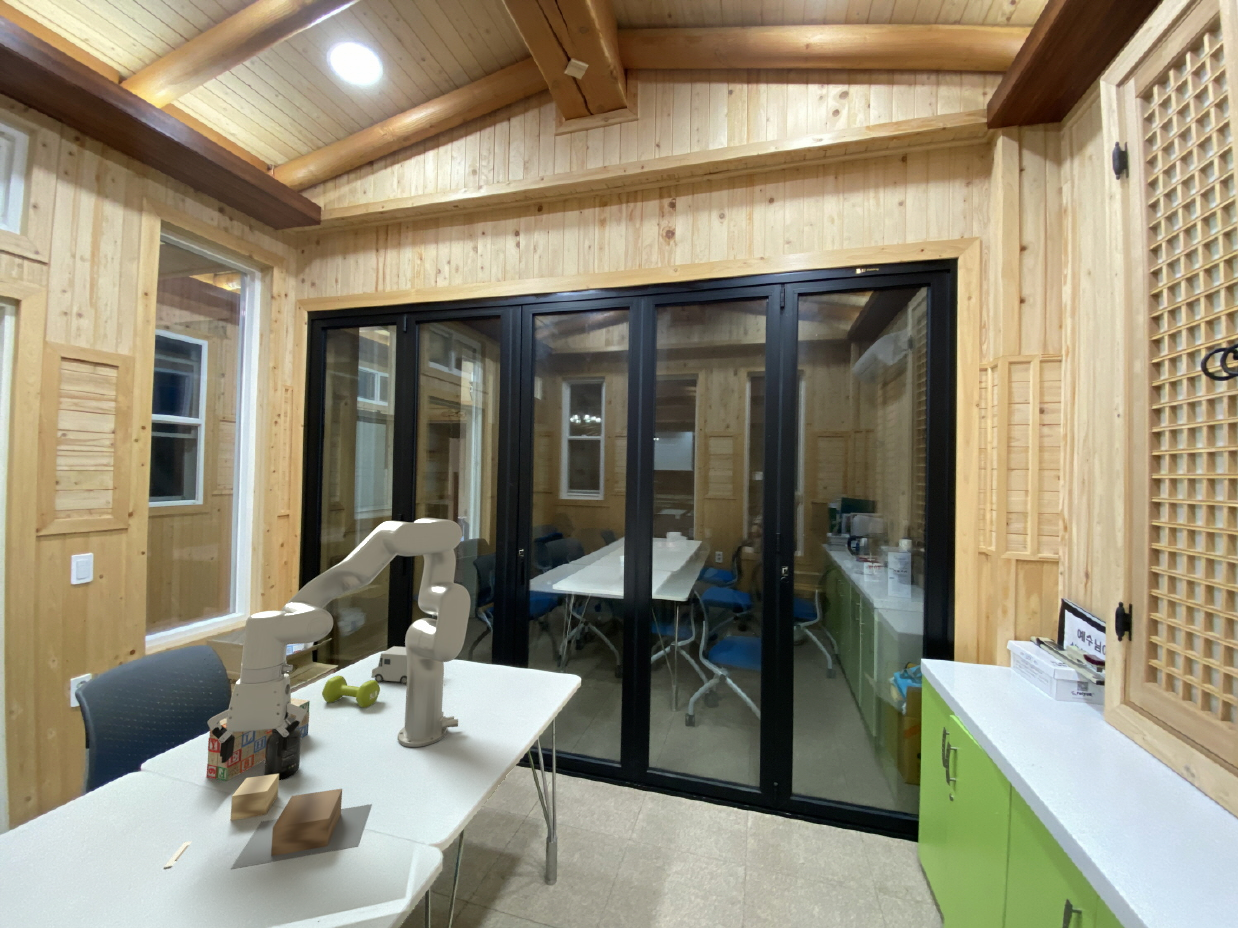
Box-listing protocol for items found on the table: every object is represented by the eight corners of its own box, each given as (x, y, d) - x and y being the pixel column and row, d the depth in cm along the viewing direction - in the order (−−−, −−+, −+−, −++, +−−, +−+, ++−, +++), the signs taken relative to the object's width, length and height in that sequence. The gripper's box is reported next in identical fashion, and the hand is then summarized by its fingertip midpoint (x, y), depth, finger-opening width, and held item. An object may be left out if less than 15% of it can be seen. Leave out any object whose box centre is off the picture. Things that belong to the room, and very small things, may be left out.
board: (371, 809, 98) (371, 803, 98) (357, 852, 87) (358, 846, 87) (260, 827, 92) (261, 821, 92) (230, 876, 81) (230, 868, 81)
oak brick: (277, 802, 100) (279, 773, 100) (265, 821, 94) (267, 790, 94) (244, 806, 98) (246, 777, 98) (229, 826, 92) (232, 795, 93)
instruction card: (234, 835, 90) (234, 833, 90) (217, 858, 84) (217, 857, 84) (184, 843, 88) (184, 841, 88) (163, 868, 82) (163, 866, 82)
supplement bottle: (302, 762, 114) (305, 712, 115) (294, 779, 108) (297, 726, 108) (269, 768, 111) (272, 717, 112) (259, 785, 105) (262, 731, 106)
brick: (340, 813, 95) (342, 788, 95) (327, 845, 87) (328, 818, 87) (290, 821, 92) (291, 795, 93) (270, 855, 84) (272, 827, 84)
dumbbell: (382, 700, 148) (383, 677, 148) (363, 712, 140) (364, 687, 141) (339, 694, 152) (340, 671, 152) (318, 705, 144) (319, 681, 144)
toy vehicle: (384, 672, 170) (386, 645, 170) (430, 675, 168) (432, 648, 168) (369, 682, 161) (370, 653, 162) (417, 686, 159) (419, 656, 160)
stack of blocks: (290, 731, 128) (293, 686, 129) (308, 734, 127) (311, 689, 127) (205, 777, 108) (209, 723, 108) (225, 782, 106) (229, 727, 107)
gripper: (315, 663, 104) (308, 742, 102) (223, 668, 99) (214, 751, 97) (303, 675, 97) (296, 761, 95) (203, 682, 92) (193, 772, 90)
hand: (254, 756), depth 96 cm, fingers open, 9 cm apart
